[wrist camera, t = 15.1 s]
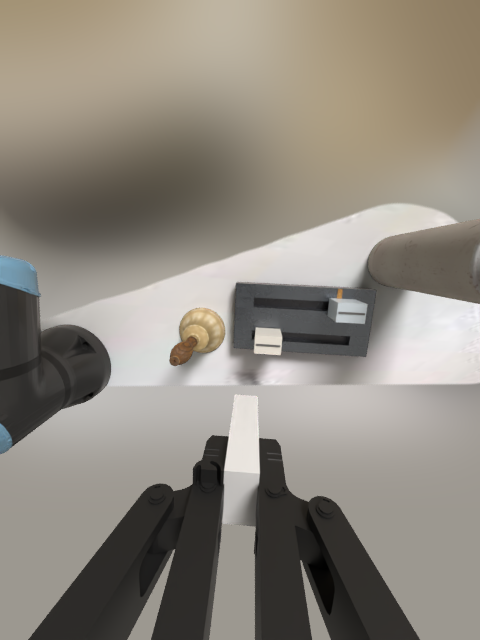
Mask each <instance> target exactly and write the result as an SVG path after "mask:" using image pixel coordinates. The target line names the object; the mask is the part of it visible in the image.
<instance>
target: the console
mask: <svg viewBox="0 0 480 640" xmlns="http://www.w3.org/2000/svg"><path fill="white" fill-rule="evenodd" d="M375 296H376V290H374V289H369V288H349V287H329V286H309V285H289V284H270V283H250V282H237V283H236V300H235V325H234V348H244V349H254V344H255V330H256V327H258V328H274V329H280V330H281V334H282V347H281V351H288V352H303V353H318V354H333V355H348V356H363V357H366V354H367V348H368V341H369V335H370V328H371V322H372V315H373V309H374V302H375ZM329 298H338V299H356V300H358V301H361V302H363V303H366V304H368V305H367V312H366V319H365V324H357V323H340V322H335V321H334V320H332V319H331V318H330V317H329V316H328V306H329Z"/></svg>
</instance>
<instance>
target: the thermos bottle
mask: <svg viewBox="0 0 480 640" xmlns="http://www.w3.org/2000/svg"><path fill="white" fill-rule="evenodd" d="M368 269H369V272H370V274H371V276H372V278H373V279H374V280H375V281H376V282H378V283H379V284H382V285H384V286H389V287H394V288H400V289H405V290H410V291H416V292H421V293H426V294H431V295H436V296H441V297H446V298H452V299H457V300H462V301H467V302H472V303H478V304H480V219H477V220H471V221H466V222H461V223H456V224H451V225H446V226H441V227H436V228H431V229H426V230H420V231H415V232H410V233H405V234H400V235H395V236H390V237H387V238H385V239H383V240H381V241H380V242H379V243H378V244H376V245H375V247H374V248H373V249H372V251H371V253H370V255H369V259H368Z"/></svg>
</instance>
